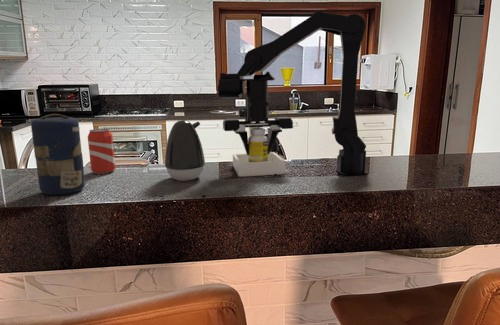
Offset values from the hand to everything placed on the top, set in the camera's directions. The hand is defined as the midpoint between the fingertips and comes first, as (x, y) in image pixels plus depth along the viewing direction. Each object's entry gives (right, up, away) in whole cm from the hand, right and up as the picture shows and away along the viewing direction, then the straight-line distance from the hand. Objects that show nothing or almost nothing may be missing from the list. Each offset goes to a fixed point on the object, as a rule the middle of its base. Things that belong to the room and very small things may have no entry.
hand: (258, 154), depth 101 cm
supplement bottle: (0, -3, +1) cm, 3 cm away
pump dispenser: (-19, -7, -7) cm, 21 cm away
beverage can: (-44, -5, +1) cm, 44 cm away
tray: (0, -4, +1) cm, 4 cm away
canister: (-46, -9, -17) cm, 50 cm away
